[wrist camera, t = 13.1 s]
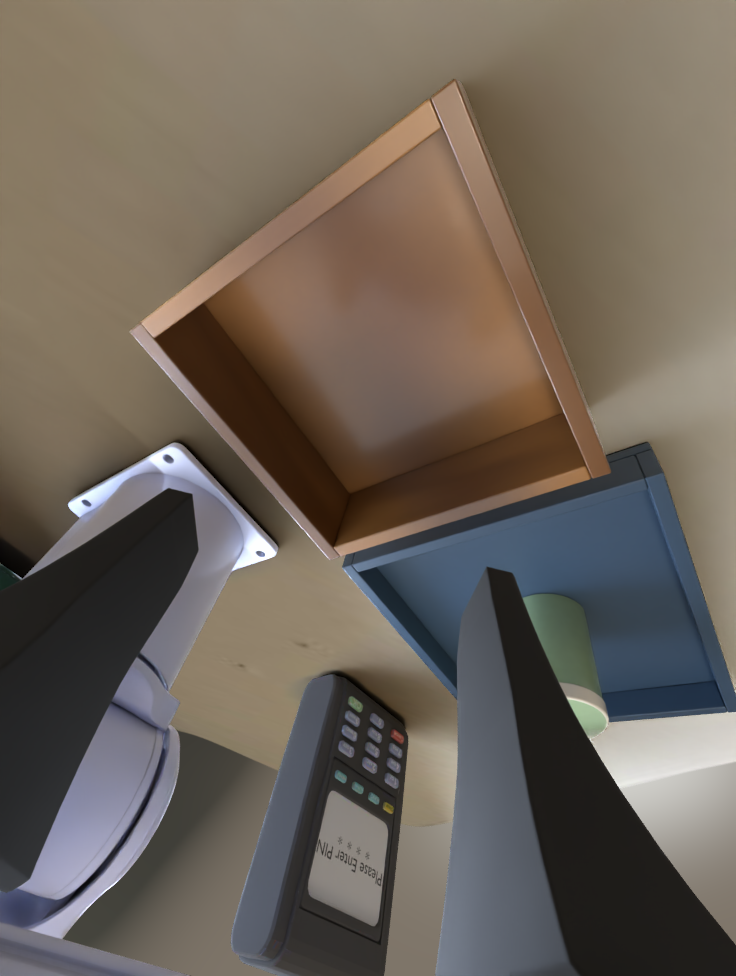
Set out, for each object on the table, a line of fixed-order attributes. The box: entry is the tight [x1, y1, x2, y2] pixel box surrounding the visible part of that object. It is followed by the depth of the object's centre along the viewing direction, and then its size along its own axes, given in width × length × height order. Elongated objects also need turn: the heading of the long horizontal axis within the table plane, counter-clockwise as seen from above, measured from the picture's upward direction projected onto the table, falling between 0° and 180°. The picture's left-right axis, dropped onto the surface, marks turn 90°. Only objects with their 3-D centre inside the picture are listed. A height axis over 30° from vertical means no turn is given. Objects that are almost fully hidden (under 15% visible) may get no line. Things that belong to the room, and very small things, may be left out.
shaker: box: [523, 594, 609, 739], centre depth 23 cm, size 4×4×6 cm
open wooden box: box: [130, 79, 611, 560], centre depth 16 cm, size 11×11×4 cm
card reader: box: [231, 674, 408, 976], centre depth 30 cm, size 9×4×15 cm, turn 39°
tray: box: [342, 443, 736, 722], centre depth 25 cm, size 14×17×2 cm
